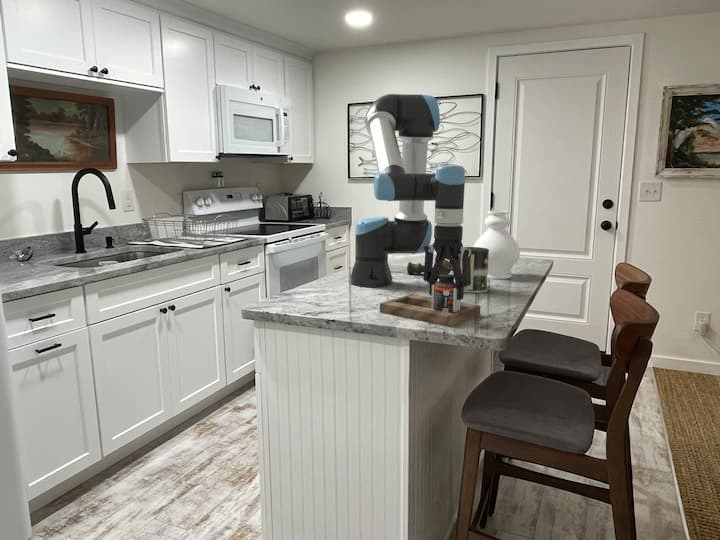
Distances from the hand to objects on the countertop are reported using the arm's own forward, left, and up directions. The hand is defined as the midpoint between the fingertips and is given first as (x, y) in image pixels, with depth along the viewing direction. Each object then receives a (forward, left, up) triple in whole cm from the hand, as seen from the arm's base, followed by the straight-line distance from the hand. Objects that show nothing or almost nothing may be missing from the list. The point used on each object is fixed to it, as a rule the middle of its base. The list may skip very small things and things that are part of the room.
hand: (445, 308), depth 145 cm
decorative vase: (-16, +65, -2) cm, 67 cm away
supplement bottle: (0, 0, -2) cm, 2 cm away
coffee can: (-11, +36, -2) cm, 38 cm away
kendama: (-34, +50, -3) cm, 61 cm away
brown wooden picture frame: (-5, 0, -2) cm, 5 cm away
